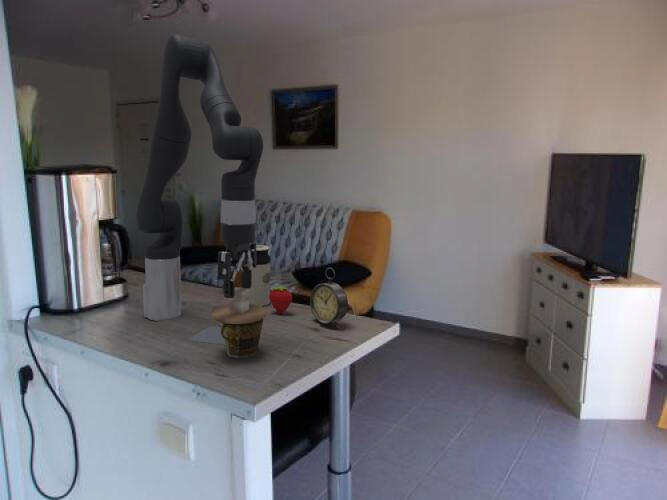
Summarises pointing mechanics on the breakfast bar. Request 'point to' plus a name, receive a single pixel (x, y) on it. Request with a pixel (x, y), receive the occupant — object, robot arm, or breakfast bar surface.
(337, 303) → the alarm clock
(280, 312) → the strawberry
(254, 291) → the travel mug
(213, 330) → the mat
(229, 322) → the lid
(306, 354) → the breakfast bar surface
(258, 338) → the ceramic cup
